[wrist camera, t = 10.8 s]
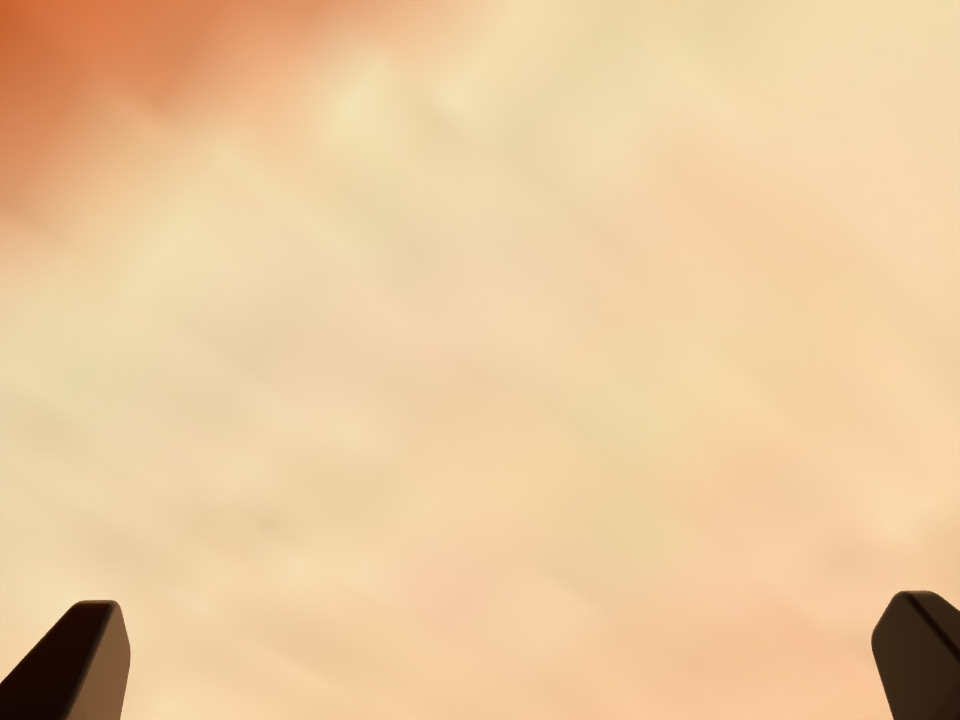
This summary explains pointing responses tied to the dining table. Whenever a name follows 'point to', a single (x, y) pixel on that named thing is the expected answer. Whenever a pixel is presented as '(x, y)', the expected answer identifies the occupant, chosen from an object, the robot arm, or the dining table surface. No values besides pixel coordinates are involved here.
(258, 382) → the dining table surface
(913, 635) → the robot arm
